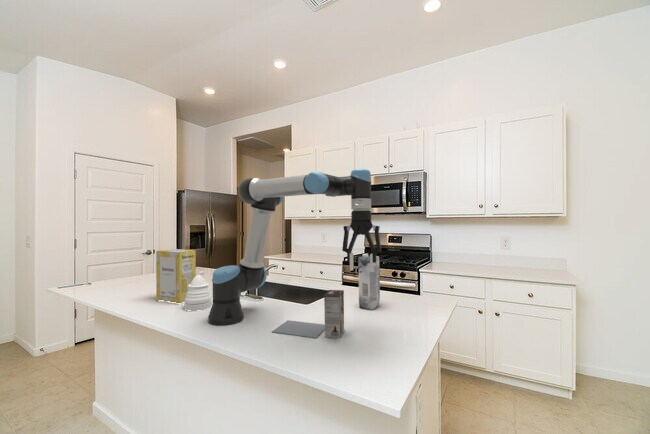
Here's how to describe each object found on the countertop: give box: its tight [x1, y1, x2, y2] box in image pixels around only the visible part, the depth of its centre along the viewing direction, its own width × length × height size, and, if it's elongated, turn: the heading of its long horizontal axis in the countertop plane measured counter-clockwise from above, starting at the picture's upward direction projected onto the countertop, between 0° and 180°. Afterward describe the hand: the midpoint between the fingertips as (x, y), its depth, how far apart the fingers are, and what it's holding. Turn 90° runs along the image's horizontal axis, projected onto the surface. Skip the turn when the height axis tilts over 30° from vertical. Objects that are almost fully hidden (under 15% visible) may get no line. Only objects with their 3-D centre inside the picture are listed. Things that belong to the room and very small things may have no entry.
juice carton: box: [357, 253, 381, 311], centre depth 151 cm, size 9×10×27 cm
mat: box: [271, 319, 325, 340], centre depth 121 cm, size 19×14×1 cm
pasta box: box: [155, 248, 197, 303], centre depth 167 cm, size 18×10×28 cm, turn 66°
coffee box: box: [323, 289, 345, 339], centre depth 116 cm, size 9×6×16 cm
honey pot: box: [184, 271, 213, 312], centre depth 152 cm, size 13×13×18 cm
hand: (361, 270), depth 113 cm, fingers open, 7 cm apart
